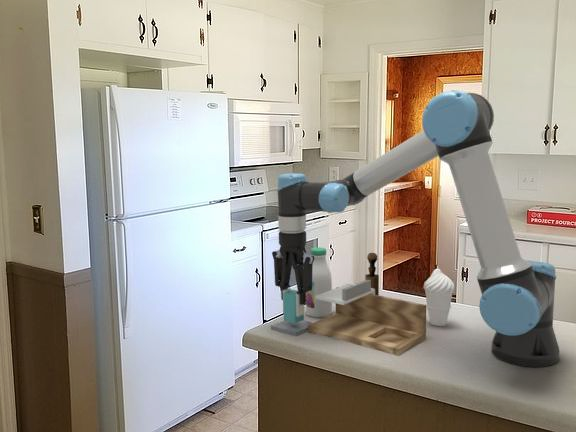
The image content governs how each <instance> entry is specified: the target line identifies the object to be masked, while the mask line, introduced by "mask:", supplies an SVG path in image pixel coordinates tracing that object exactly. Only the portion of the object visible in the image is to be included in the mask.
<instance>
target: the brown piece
mask: <svg viewBox="0 0 576 432" xmlns="http://www.w3.org/2000/svg"><path fill="white" fill-rule="evenodd" d="M338 287H339V286H337V287H336V288H338ZM307 332H308V333H309V334H314V335H316V334H318V335H323V336H326V337H329V338H333V339H337V340H341V341H344V342H347V343H351V344H356V345H359V346H362V347H366V348H369V349H373V350H377V351H380V352H384V353H388V354H391V355H395V356H397V357H398V356H400V355H403V353H405V352H407V351H409V350H411V348H414V347H415V346H417V345H419V344H420V343H422V342H423V341H425V340H427V306H426V304H423V303H422V304H421V303H419V302H414V301H410V300H409V301H408V300H404V299H403V300H402V299H399V298H393V297H388V296H384V295H380V294H379V295H375V294H369V295H366V296H364V297H361V298H359V299H357V300H354V301H352V302H349V303H347V304H345V305H341V304H337V303H335V313H331V315H330V316H327V317H322V318H321V319H319V320H316V321H314V322H312V323H311V324H309V325H308V331H307Z"/></svg>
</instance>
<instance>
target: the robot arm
mask: <svg viewBox="0 0 576 432" xmlns="http://www.w3.org/2000/svg"><path fill="white" fill-rule="evenodd" d="M421 118H422V119H421V124H422V131H420V132H418V133H416V134H415V135H413V136H412V137H410V138H408V139H406V140H405V141H403V142H401V143H400V144H399V145H397V146H395V147H393V148H391V149H390V150H388V151H387V152H385V153H384V154H381V155H380V156H378V157H376V158H375V159H374V160H372V161H371V162H369V163H367V164H366V165H365V164H364V165H363V166H361V167H360V168H359V169H357V170H355V171H354V172H353V173H351V174H349V175H347V176H346V177H344V178H342V179H341V178H340V179H338V180H337V179H336V180H332V181H325V182H315V181H314V182H311V181H307V179H306V175H305V174H304V173H297V172H296V173H283V174H282V173H281V174H280V175H279V176H278V177H277V178H278V179H277V190H276V192H277V203H278V206H277V207H278V213H277V214H278V215H277V217H278V218H277V219H278V221H277V222H278V223H277V225H278V228H277V229H278V230H279V232H278V244H279V245H280V247H279V250H275V251H272V252H271V254H272V259H273V269H274V270H273V271H274V285H275V286H276V287H279V289H280V298H281V301H283V293H284V292H287V291H290V290H292V288H291V284H290V280H291V274H292V269H293V271H294V276H295V281H296V288H297V291H298V292H296V316H297V317H299V316H301V315H304V316H305V305H306V292H308V291H311V290H312V271H313V262H314V256H311V255H310V254H308V253H307V251H306V245H307V231H306V229H307V211H311V212H312V211H313V212H323V213H324V212H326V213H328V214H332V213H343V212H344V211H345V209H346V208H348V207H351V206H355V205H357V204H359V203H361V202H363V201H364V200H365V199H366V198H367V197H368V196H370V195H372V194H374V193H375V192H377V191H379V190H381V189H382V188H384V187H386V186H387V185H389V184H391V183H393V182H395V181H397V180H398V179H400V178H402V177H405V176H406V175H407V174H408V175H409V173H411V172H412V171H414V170H416V169H418V168H420V167H421V166H424V165H425V164H427V163H429V162H430V161H432V160H434V159H435V158H437V157H438V159H439V160H440V161H441V162H444V163H446V164H447V165H448V167H449V169H450V173H451V176H452V179H453V182H454V185H455V188H456V192H457V195H458V197H459V198H458V199H459V201H460V205H461V209H462V211H463V213H464V217H465V220H466V224H467V227H468V230H469V231H468V232H469V233H470V237H471V240H472V243H473V246H474V249H475V253H476V255H477V258H478V263H479V265H480V269H479V271H478V274H477V275H476V280H477V283H478V287H479V290H480V293H481V297H480V299H479V305H478V306H479V313H480V316H481V317H482V320H483V321H484V322H485V324H486V325H487V326H488V327H489V328H490V329H492V330H494V331H495V333H494V335H493V337H492V340H491V350H490V351H491V353H492V355H493V356H494V357H496V358H497V359H499V360H501V361H503V362H506V363H509V364H513V365H517V366H523V367H532V368H534V367H535V368H542V367H548V366H549V367H550V366H552V365H553V366H554V365H555V364H557V363H558V362H559V361H560V352H561V351H560V347H559V344H558V340H557V337H556V333H555V329H554V326H553V325H554V309H555V292H556V291H555V289H556V279H557V276H556V267H555V266H554V264H551V263H549V262H548V263H547V262H544V261H535V260H527V259H523V257H522V255H521V253H520V248H519V247H518V243H517V239H516V237H515V233H514V231H513V230H514V229H513V228H512V224H511V221H510V217H509V215H508V212H507V209H506V205H505V202H504V200H503V199H504V198H503V195H502V192H501V189H500V186H499V183H498V180H497V177H496V174H495V170H494V167H493V164H492V160H491V158H490V154H489V151H490V149H491V147H492V145H493V143H494V142H493V140H492V139H493V138H492V135H491V133H490V131H491V130H492V127H493V126H494V122H495V121H494V119H495V114H494V110H493V107H492V104H491V103H490V102H489V101H488V100H487V99H486V98H485V97H484V96H483V95H482V94H480V93H479V94H478V93H475V92H466V91H463V90H458V89H455V90H449V91H443V92H441V93H439V94H437V95H435V96H434V97H433V98H432V99H431V100H430V101H429V102H428V103H427V104H426V106H425V108H424V111H423V112H422V117H421ZM282 313H283V314H284V309H283V308H282Z"/></svg>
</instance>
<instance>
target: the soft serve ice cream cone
mask: <svg viewBox="0 0 576 432" xmlns="http://www.w3.org/2000/svg"><path fill="white" fill-rule="evenodd" d="M423 284H424V285H423V289H424V291H425V296H426V297H425V298H426V299H425V300H426V304H425V305H426V310H427V314H428V319H429V324H430V325H432V326H434V327H435V326H436V327H444V326H446V325H447V322H448V318H449V313H450V310H451V307H452V305H451V302H452V297H453V291H454V290H455V283H454V282H453V280H451V278H449V277H448V276H447V275H446V274H445V273H444V272H442V270H441V269H440V268H435V269H434V270H433V271H432V273H431V275H430V276H429V277H428V278H427V280H425V281H424V283H423Z"/></svg>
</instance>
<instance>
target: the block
mask: <svg viewBox="0 0 576 432" xmlns="http://www.w3.org/2000/svg"><path fill="white" fill-rule="evenodd" d="M296 292H298V289H297V290H296V289H291V290H290V291H287V292H284V293H283V300H282V310H283V309H284V313H283V321H287V322H291V323H294V324H295V323H297V322H300V321H302V320H305V314H304V315H301V316H299V317H297V316H296Z"/></svg>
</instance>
